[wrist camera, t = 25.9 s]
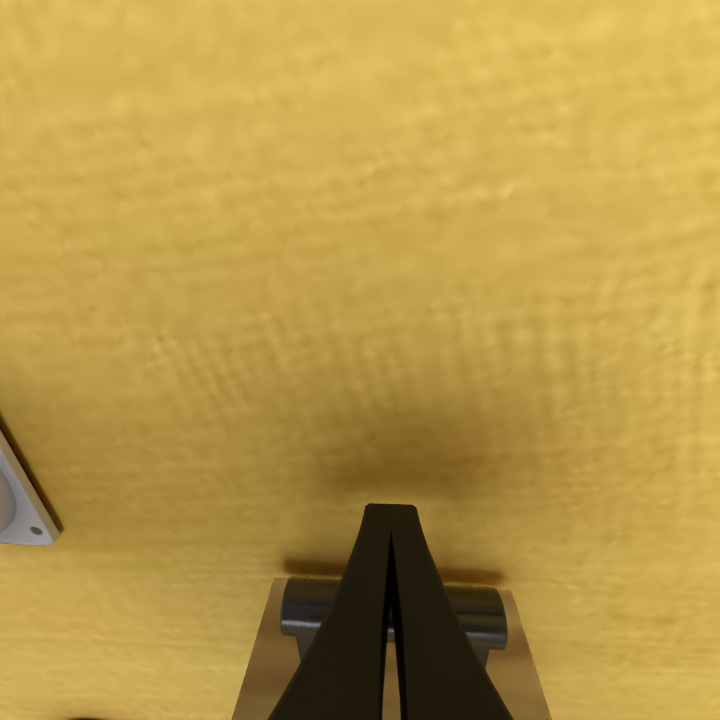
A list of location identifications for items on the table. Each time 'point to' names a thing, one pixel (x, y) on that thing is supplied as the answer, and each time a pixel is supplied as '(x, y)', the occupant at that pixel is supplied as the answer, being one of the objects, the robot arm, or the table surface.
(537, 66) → the table surface
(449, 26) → the table surface
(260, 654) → the drawer
